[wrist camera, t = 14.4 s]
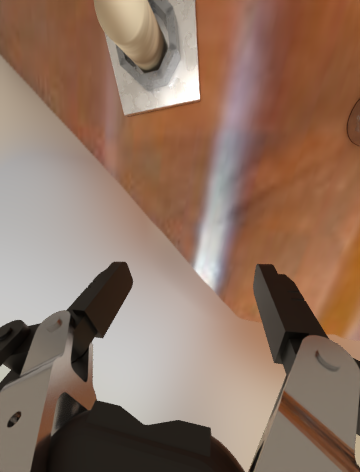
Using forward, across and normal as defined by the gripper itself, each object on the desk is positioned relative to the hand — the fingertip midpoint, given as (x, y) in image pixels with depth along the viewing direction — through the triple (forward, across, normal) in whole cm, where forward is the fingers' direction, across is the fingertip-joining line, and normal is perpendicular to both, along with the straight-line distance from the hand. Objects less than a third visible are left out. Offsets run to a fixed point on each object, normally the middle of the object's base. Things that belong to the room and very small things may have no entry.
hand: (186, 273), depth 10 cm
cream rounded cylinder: (+26, +7, -21) cm, 34 cm away
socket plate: (+28, +7, -21) cm, 36 cm away
